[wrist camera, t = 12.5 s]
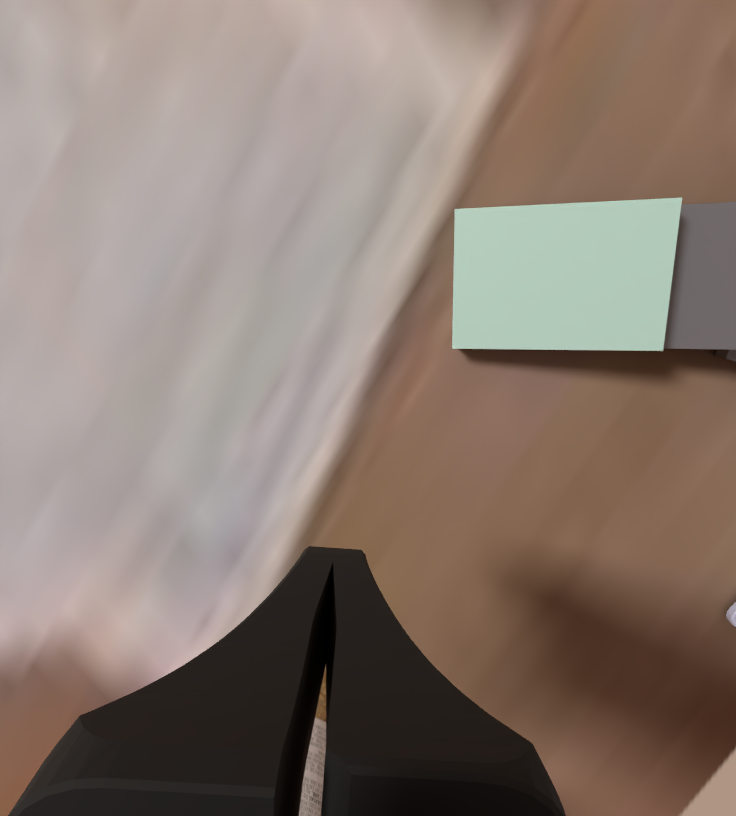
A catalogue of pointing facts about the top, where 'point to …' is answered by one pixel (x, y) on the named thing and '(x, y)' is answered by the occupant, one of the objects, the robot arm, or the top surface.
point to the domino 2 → (726, 354)
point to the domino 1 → (704, 279)
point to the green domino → (564, 275)
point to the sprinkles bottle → (315, 761)
